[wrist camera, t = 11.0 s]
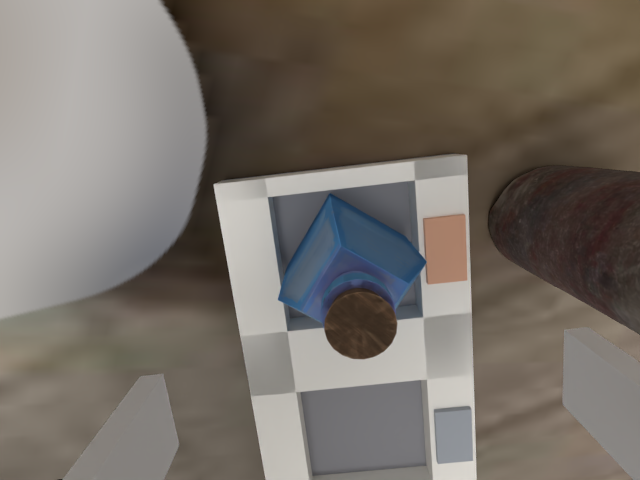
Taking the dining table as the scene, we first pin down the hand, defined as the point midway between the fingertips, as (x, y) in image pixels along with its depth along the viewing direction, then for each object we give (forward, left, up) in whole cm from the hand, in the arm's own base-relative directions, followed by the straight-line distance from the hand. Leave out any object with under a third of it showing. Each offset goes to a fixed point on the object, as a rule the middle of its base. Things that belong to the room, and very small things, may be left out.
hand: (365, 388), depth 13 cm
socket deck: (0, -7, -17) cm, 18 cm away
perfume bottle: (0, 0, -17) cm, 17 cm away
